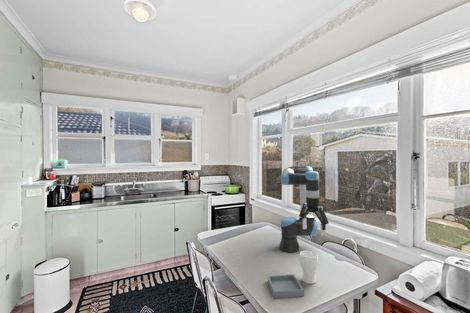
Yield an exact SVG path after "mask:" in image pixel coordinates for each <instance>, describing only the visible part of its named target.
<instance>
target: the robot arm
mask: <svg viewBox="0 0 470 313" xmlns="http://www.w3.org/2000/svg"><path fill="white" fill-rule="evenodd" d="M280 182H281V185H283V186H292V185H293V186H299V200H300V201H299V202H300V212H299V214H298V219H297V218H296V217H293V216H289V217H285V218H284V217H283V218H282V219H281V220H280V222H281V223H280V228H281V233H280V234H281V239H280V241H279V249H280V251H282V252H285V253H297V252H300V247H301V246H300V243H299V241H298V236H299V237H302V236H303V237H316V235H317V234H318V224H319V223H318V220H319V222H320V236H321V237H323V236H325V235H326V232H325V231H326V228H327V227H326V226H327V225H329V224H330V223H329V222H330V221H329V220H328V217H327V215H326V212H325V209H324V206H320V186H319V185H320V184H319V182H320V178H319V172H318V171H314V170H313V167H311V166H310V165H309V166H308V165H301V166H297V165H296V166H294V165H293V166H288V167H286V168H284V169H283V170H282V172H281V174H280ZM313 214H314V215H316V217H317V219H318V220H317V219H316V217H315V216H314V215H313Z"/></svg>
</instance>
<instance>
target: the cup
mask: <svg viewBox="0 0 470 313" xmlns="http://www.w3.org/2000/svg"><path fill="white" fill-rule="evenodd" d="M298 262H299V265H300V268H301V271H302V277H301V280H302V281H303V283H306V284H309V285H310V284H311V285H312V284H315V283H316V282H317V277H316V271H317V269H318V266H319V257H318V254H317V253H316V252H314V251H312V250H301V251H299V255H298Z"/></svg>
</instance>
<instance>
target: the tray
mask: <svg viewBox="0 0 470 313" xmlns="http://www.w3.org/2000/svg"><path fill="white" fill-rule="evenodd" d="M267 284H268V286H269V288H270V291H271V293H272V296H273V298H274V299H281V298H291V297H304V296H305V290H304V288H303V286H302V285H301V283H300V282H299V279H297V276H296V275H295V274H290V273H289V274H279V275H278V274H276V275H267Z"/></svg>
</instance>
